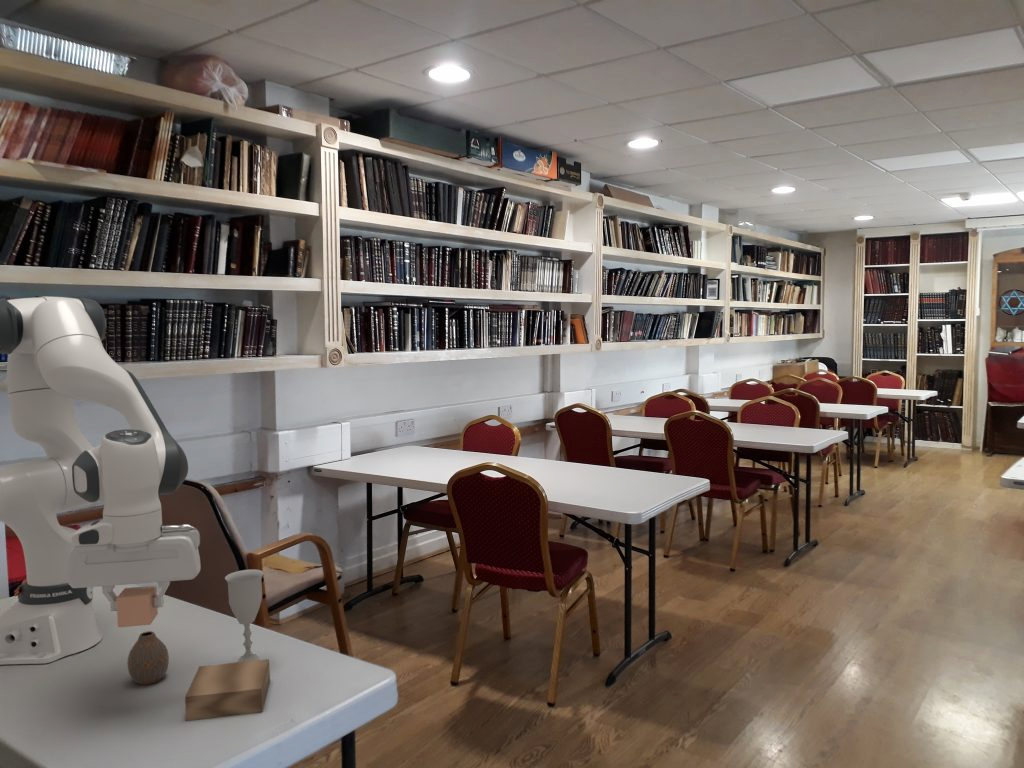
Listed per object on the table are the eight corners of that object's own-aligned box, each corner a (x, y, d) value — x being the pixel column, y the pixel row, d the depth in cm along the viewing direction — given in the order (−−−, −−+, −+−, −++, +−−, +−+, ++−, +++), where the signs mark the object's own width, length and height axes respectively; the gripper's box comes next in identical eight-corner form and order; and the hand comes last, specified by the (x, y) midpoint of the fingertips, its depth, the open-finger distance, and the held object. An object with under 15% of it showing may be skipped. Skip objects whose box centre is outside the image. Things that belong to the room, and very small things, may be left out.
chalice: (255, 678, 142) (250, 582, 141) (221, 675, 144) (217, 580, 142) (275, 661, 149) (270, 570, 148) (243, 659, 151) (238, 568, 150)
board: (186, 720, 127) (185, 697, 127) (200, 688, 139) (199, 666, 138) (262, 711, 129) (261, 688, 129) (270, 680, 141) (269, 659, 141)
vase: (143, 691, 138) (140, 643, 137) (120, 683, 142) (117, 636, 141) (177, 676, 144) (175, 630, 143) (155, 668, 147) (152, 623, 147)
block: (117, 627, 127) (116, 598, 127) (126, 616, 132) (125, 588, 132) (150, 624, 128) (148, 595, 128) (157, 613, 133) (156, 585, 133)
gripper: (202, 518, 134) (206, 596, 135) (74, 526, 130) (79, 606, 131) (195, 528, 128) (199, 609, 129) (60, 536, 124) (65, 620, 125)
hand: (137, 608), depth 130 cm, fingers closed on block, 5 cm apart
